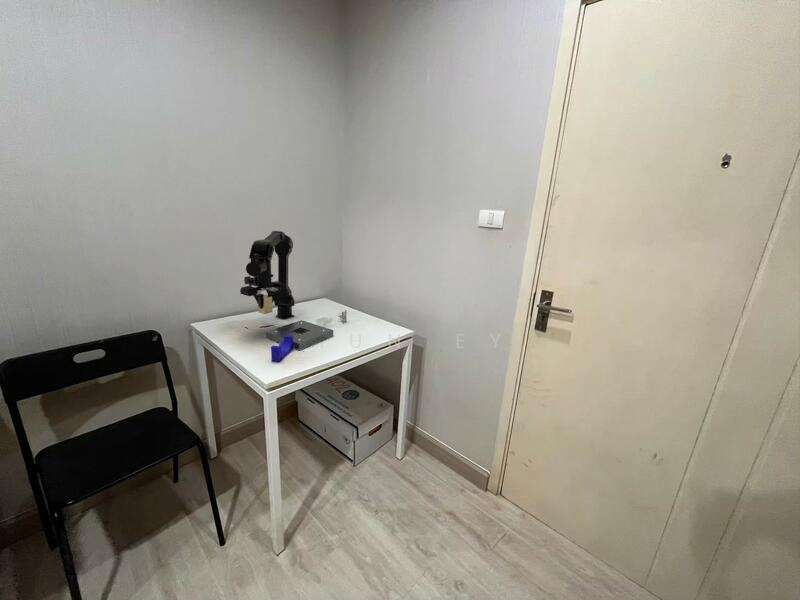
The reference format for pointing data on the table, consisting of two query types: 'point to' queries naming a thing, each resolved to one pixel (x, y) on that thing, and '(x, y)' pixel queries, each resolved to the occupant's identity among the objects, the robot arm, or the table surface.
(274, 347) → the blue u-shaped bracket
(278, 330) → the grey square mounting plate
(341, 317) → the architectural model
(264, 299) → the tan wooden block
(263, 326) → the table surface
